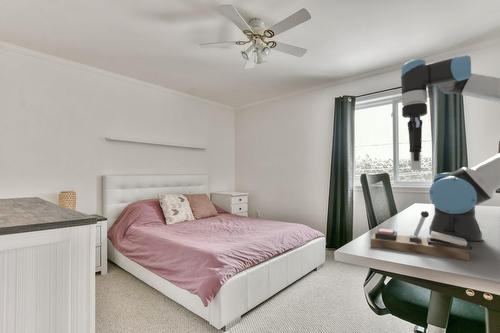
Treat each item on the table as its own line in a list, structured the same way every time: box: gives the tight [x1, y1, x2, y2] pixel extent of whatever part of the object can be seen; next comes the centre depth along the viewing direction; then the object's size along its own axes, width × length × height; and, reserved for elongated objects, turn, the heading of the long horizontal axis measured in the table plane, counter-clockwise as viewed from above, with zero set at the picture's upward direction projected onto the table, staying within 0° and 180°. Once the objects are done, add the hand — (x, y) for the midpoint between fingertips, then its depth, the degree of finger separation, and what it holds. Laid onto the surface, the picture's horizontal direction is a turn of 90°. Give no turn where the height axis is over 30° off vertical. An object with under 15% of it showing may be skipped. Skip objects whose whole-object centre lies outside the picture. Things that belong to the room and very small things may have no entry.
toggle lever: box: [413, 210, 430, 237], centre depth 77 cm, size 2×2×8 cm
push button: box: [378, 228, 394, 235], centre depth 82 cm, size 4×4×2 cm
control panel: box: [370, 229, 473, 262], centre depth 78 cm, size 25×10×4 cm, turn 57°
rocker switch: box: [430, 231, 468, 246], centre depth 73 cm, size 8×4×1 cm, turn 57°
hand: (415, 170), depth 90 cm, fingers closed
